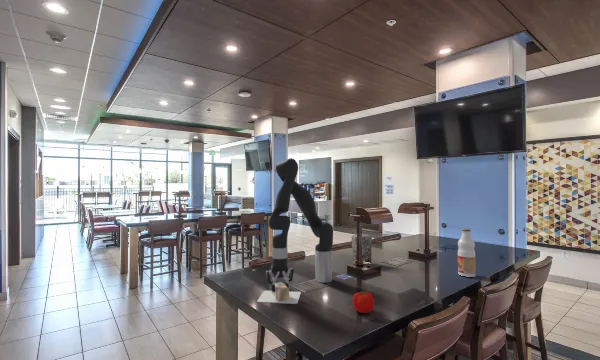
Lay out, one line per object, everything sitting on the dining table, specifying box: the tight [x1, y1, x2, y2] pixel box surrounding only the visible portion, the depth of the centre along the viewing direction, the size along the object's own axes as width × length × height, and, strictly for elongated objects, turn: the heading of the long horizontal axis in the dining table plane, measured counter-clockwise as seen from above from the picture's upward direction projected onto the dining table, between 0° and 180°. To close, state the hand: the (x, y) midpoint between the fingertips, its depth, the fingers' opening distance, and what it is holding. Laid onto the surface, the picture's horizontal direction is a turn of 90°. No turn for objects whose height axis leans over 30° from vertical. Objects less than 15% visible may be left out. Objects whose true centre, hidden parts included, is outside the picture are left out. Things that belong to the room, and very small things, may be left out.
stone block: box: [351, 234, 373, 264], centre depth 212 cm, size 13×7×20 cm, turn 116°
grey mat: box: [256, 290, 302, 305], centre depth 149 cm, size 19×15×1 cm
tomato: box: [352, 289, 375, 314], centre depth 131 cm, size 9×10×8 cm
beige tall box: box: [271, 281, 290, 301], centre depth 149 cm, size 5×5×12 cm
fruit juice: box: [457, 228, 477, 278], centre depth 183 cm, size 9×9×28 cm
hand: (279, 291), depth 149 cm, fingers open, 5 cm apart
